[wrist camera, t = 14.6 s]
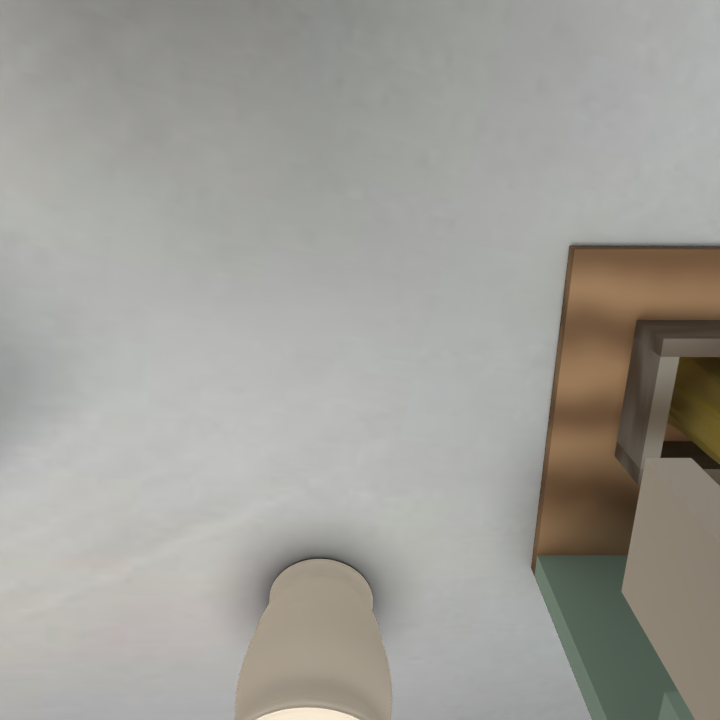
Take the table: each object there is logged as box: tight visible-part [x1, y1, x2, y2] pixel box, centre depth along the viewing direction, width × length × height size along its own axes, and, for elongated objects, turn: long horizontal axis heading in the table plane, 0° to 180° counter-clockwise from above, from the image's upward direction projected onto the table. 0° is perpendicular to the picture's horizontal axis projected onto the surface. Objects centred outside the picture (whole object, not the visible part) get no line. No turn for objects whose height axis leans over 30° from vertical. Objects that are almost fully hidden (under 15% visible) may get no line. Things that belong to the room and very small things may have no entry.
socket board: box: [531, 246, 720, 576], centre depth 44 cm, size 26×22×5 cm
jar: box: [235, 559, 392, 720], centre depth 45 cm, size 11×10×15 cm
